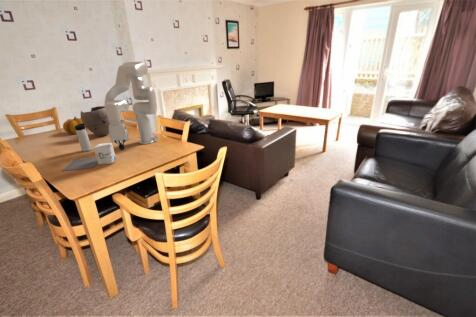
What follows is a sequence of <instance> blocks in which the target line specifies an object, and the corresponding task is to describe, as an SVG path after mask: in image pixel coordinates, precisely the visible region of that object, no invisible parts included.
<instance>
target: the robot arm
mask: <svg viewBox="0 0 476 317" xmlns="http://www.w3.org/2000/svg"><path fill="white" fill-rule="evenodd" d="M148 69H149V68H148V64H147V63H146V62H145V61H126V62H124V63H122V64H121V65H119V66H118V68H117V73H116V78H115V83H114V84H113V86H112V87H111V88H110V89H109V90H108V91H107V92H106V94H105V98H104V105H103V106H105V109H106V112H107V116H108V120H109V124H110V125H109V139H110V143H115V144H117V145H118V148H119V150H120V151H124V150H125V148H126V146H125V144H124V143H126V142H128V141H129V140H130V138H129V133H128V129H127V127H126V125H125V122H126V121H125V119H123V118H122V113H126V112H127V111H129V109H130V104H129V102H128V101H127V100H123V99H116V98H117V97H118V96H119V95H121V94H123V93H126V92H127V91H129V90H130V87H131V88H132V96H133V99H134V100H137V101H138V102H134V103H133V104H132V111H133V114H134V116H135V119H136V123H137V127H138V133H139V134H138V135H139V137H140V139H139V141H138V143H139V144H142V145H149V144H153V143H154V142H156V140H159V139H160V137H159V136H157V135H154V134H153V130H152V124H151V119H150V117H149V116H148V115H155V114H157V112H158V105H157V103H158V102H157V97H156V91H155V89H154V88H153V87H152V86H145V83H144V79H143V76H144V75H145V76H146V75H147V73H148V71H149V70H148Z"/></svg>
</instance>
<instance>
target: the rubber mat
mask: <svg viewBox="0 0 476 317" xmlns="http://www.w3.org/2000/svg"><path fill="white" fill-rule="evenodd" d="M97 165H98V162H97V158H96V156H95V157H85V158H79V159H78V158H76V159H73V160H72V161H71V162H69V164H67V165H66V166H65V167H64V168H63V169H62V170H61V172H67V171H69V172H70V171H77V169H79V170H87V169H88V168H89V169H94V168H95V167H96V166H97Z"/></svg>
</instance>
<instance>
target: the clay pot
mask: <svg viewBox="0 0 476 317" xmlns="http://www.w3.org/2000/svg"><path fill="white" fill-rule="evenodd" d="M80 118H81V119H82V122H83V124H85V126H86V127H87V128H88V129H87V130H89V131H90V132H91V133H93V134H94V135H96V136H98V137H103V136H106V135H108V134H109V125H110V124H109V120H108V116H107V112H106V109H105V105H101V106H99V105H98V106H93V107H91V108H90V111H82V110H80ZM109 135H110V134H109Z"/></svg>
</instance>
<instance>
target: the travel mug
mask: <svg viewBox="0 0 476 317" xmlns="http://www.w3.org/2000/svg"><path fill="white" fill-rule="evenodd" d="M75 129H76V133H77V134H76V136H77V139H78V142H79V145H80V149H81V151H82V152H83V153H89V152H91V151H93V150H92V146H91V143H90V138H89V135H88V133H87V130H86V128H85V124H79V125H76V126H75Z"/></svg>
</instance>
